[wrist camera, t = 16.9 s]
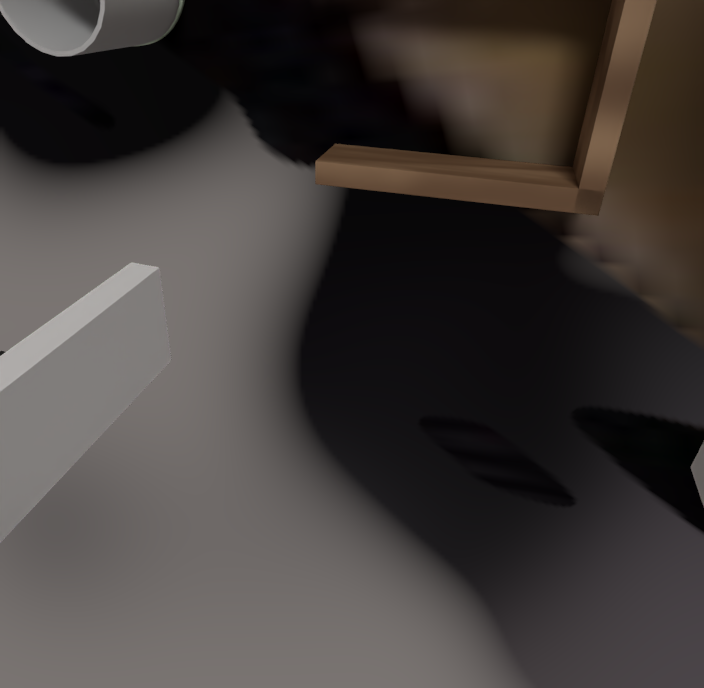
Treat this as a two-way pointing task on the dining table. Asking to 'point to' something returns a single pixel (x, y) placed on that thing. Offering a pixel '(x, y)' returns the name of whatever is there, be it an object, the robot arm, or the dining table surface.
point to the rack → (510, 176)
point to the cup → (88, 23)
